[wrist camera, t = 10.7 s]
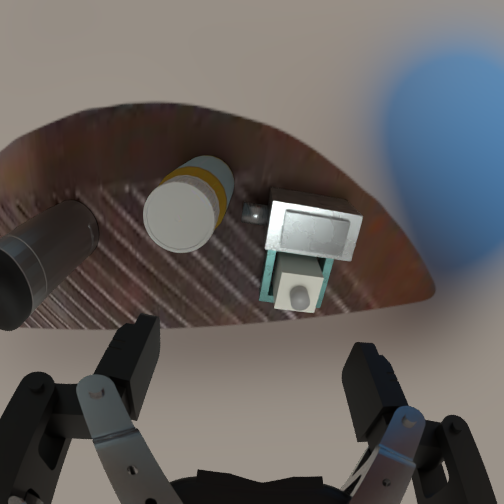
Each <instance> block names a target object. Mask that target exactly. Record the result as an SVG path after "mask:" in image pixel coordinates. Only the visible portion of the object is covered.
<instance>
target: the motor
mask: <svg viewBox="0 0 504 504" xmlns="http://www.w3.org/2000/svg"><path fill="white" fill-rule="evenodd" d="M362 218H363V216H362V215H361V214H360V213H359V212H358V211H357V210H356V209H355V208H354V207H353V206H352V205H351V204H350V203H349V202H348V201H347V200H345V199H340V198H334V197H329V196H323V195H318V194H312V193H306V192H300V191H294V190H288V189H282V188H276V187H271V189H270V195H269V201H268V205H262V204H255V203H248V202H244V206H243V212H242V220H241V222H243V223H250V224H257V225H264V237H265V249H266V254H265V259H264V265H263V271H262V276H261V282H260V287H259V301H266V302H274V297H273V285H270V281H271V276H272V271H273V265H274V260H275V255H276V251H279V252H286V253H294V254H301V255H308V256H315V257H320V260H319V266H320V269H321V271H322V274H323V277H324V279H323V283H322V286H321V290H320V294H319V297H318V300H317V304H316V307H317V308H320V306H321V303H322V299H323V296H324V292H325V289H326V286H327V282H328V279H329V275H330V271H331V268H332V264H333V260H334V259H338V260H345V261H351V258H352V255H353V251H354V248H355V244H356V241H357V237H358V233H359V229H360V226H361V222H362Z"/></svg>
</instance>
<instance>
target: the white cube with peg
mask: <svg viewBox="0 0 504 504" xmlns="http://www.w3.org/2000/svg"><path fill="white" fill-rule="evenodd" d="M323 279H324V277H323V274H322V271H321V269H320V266H319V263H318V261H317V258H316V257H315V256H308V255H301V254H294V253H286V252H279V251H278V254H277V259H276V264H275V269H274V274H273V280H272V283H273V297H274V308H276V309H284V310H293V311H301V312H311V313H314V311H315V307H316V304H317V300H318V297H319V294H320V290H321V286H322V283H323Z"/></svg>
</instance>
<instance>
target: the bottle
mask: <svg viewBox="0 0 504 504" xmlns="http://www.w3.org/2000/svg"><path fill="white" fill-rule="evenodd" d="M233 190H234V177H233V173H232V171H231V169H230V168H229V166H228V165H227V164H226V163H225V162H224V161H222V160H221V159H219V158H217V157H214V156H207V155H203V156H199V157H195V158H193V159H191V160H190V161H188V162H187V163H185V164H183V165H182V166H180V167H179V168H177V169H175V170H174V171H172V172H171V173H169V174H168V175H167V176H166V177H165V178H164V179H163V180H162V182H161V183H160V184H159V186H158V187H157V188H156V189H155V190H153V191H152V193H151V194H150V196H149V197H148V199H147V200H146V203H145V206H144V212H143V219H144V224H145V227H146V230H147V232H148V234H149V235H150V237H151V238H152V239H153V241H154V242H156V243H157V244H158V245H159V246H161V247H162V248H164V249H166V250H169V251H172V252H177V253H186V252H191V251H194V250H196V249H198V248H200V247H201V246H202V245H204V244H205V243H206V242H207V241H208V239H210V236H211V235H212V233H213V231H214V230H215V229H216V228H217V226H218V225H219V224H220V223H221V221H222V220H223V217H224V215H225V213H226V210H227V207H228V205H229V202H230V199H231V196H232V193H233Z"/></svg>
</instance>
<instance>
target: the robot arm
mask: <svg viewBox="0 0 504 504" xmlns="http://www.w3.org/2000/svg"><path fill="white" fill-rule="evenodd" d="M98 240H99V230H98V225H97V222H96V220H95V218H94V216H93V214H92V213H91V211H90V210H89V209H88V208H87V207H86V206H85V205H83V204H81V203H80V202H77V201H74V200H67V201H63V202H61V203H59V204H58V205H56V206H54V207H52V208H49V209H47V210H45V211H43V212H42V213H40V214H38V215H36V216H35V217H33V218H31V219H29V220H28V221H26V222H24V223H23V224H21V225H19V226H18V227H16V228H15V229H14V230H12V231H11V232H9V233H8V234H6V235H5V236H3V237H2V238H0V329H1V330H5V331H12V330H15V329H17V328H18V327H19V326H21V325H22V324H23V322H24V321H25V320H26V319H27V318H28V317H29V316H30V315H31V314H32V312H33V311H34V310H35V309H36V308H37V307H38V306H39V305H40V304H41V303H42V302H43V301H44V299H45V298H46V297H47V296H48V295H49V294H50V293H51V292H52V291H53V290H54V289H55V288H56V287H57V286H58V285H59V284H60V283H61V282H62V281H63V280H64V279H65V278H66V277H67V276H68V275H69V274H70V273H71V272H72V271H73V270H74V269H75V268H76V267H77V266H79V265H80V264H81V263H82V262H83V261H84V260H85V259H86V258H87V257H88V256H89V255H90V254H91V253H92V252H93V251H94V250H95V248H96V246H97V244H98ZM159 352H160V319H159V317H158V316H153V315H148V314H143V313H141V314H140V315H139V317H138V319H137V321H136V323H135V324H129V323H126V324H125V325H123V326H122V327H121V328H119V329H118V330H117V332H116V333H115V335H114V337H113V340H112V341H111V342H110V344H109V347H108V348H107V350H106V351H105V353H104V355H103V357H102V359H101V361H100V362H99V364H98V366H97V368H96V370H95V372H94V374H93V375H89V376H86V377H84V378H83V379H81V380H80V381H79V383H78V384H56V383H54V380H53V379H52V377H51V376H50V375H48V374H46V373H44V372H32V373H30V374H28V375H26V376H25V377H24V378H23V379H22V381H21V382H20V384H19V386H18V387H17V389H16V391H15V393H14V394H13V396H12V398H11V400H10V402H9V403H8V405H7V407H6V409H5V411H4V413H3V415H2V416H1V418H0V504H51V502H52V499H53V495H54V492H55V488H56V485H57V482H58V479H59V475H60V472H61V469H62V466H63V463H64V460H65V457H66V454H67V451H68V448H69V445H70V442H71V439H72V438H77V439H93V443H94V446H95V448H96V451H97V453H98V456H99V458H100V460H101V463H102V465H103V467H104V470H105V472H106V474H107V476H108V478H109V480H110V482H111V485H112V487H113V489H114V491H115V493H116V494H117V497H118V499H119V500H120V502H121V504H400V503H401V500H402V498H403V496H404V494H405V492H406V489H407V487H408V485H409V482H410V480H411V478H412V480H413V485H414V489H415V494H416V498H417V503H418V504H497V501H496V498H495V495H494V492H493V489H492V486H491V483H490V480H489V478H488V475H487V472H486V469H485V466H484V464H483V461H482V458H481V456H480V453H479V451H478V448H477V446H476V444H475V441H474V439H473V436H472V434H471V431H470V429H469V427H468V425H467V423H466V422H465V421H464V420H463V419H462V418H461V417H459V416H456V415H449V416H446V417H445V418H444V419H443V421H442V422H441V423H440V422H434V421H429V420H425V418H424V416H423V414H422V413H421V412H420V411H419V410H417V409H416V408H414V407H411V406H409V405H408V403H407V400H406V398H405V396H404V394H403V391H402V389H401V386H400V384H399V382H398V381H397V377H396V375H395V374H394V371H393V368H392V366H391V364H390V363H389V362H388V361H387V359H386V358H385V357H384V356H383V355H379V354H378V352H377V349H376V347H375V345H374V344H373V343H362V342H356V343H355V344H354V346H353V348H352V350H351V352H350V355H349V357H348V359H347V361H346V363H345V366H344V368H343V371H342V383H343V387H344V391H345V394H346V398H347V402H348V406H349V409H350V413H351V418H352V422H353V426H354V429H355V434H356V438H357V442H367V441H368V445H369V446H368V447H367V449H366V450H365V452H364V453H363V455H362V457H361V459H360V460H359V462H358V464H357V465H356V467H355V469H354V470H353V472H352V473H351V475H350V477H349V478H348V480H347V481H346V483H345V484H344V485H343V486H342V487H341V489H337V488H335V487H332V486H329V485H326V484H323V479H322V476H320V477H290V478H286V479H281V480H276V481H270V482H264V483H261V482H256V481H252V480H249V479H246V478H242V477H239V476H236V475H232V474H229V473H220V472H213V471H205V470H199V469H198V471H197V476H196V477H187V478H181V479H178V480H175V481H172V482H169V481H168V480H167V478H166V476H165V475H164V473H163V472H162V470H161V468H160V467H159V465H158V463H157V462H156V460H155V458H154V456H153V455H152V453H151V451H150V449H149V448H148V446H147V444H146V442H145V440H144V438H143V437H142V435H141V433H140V432H139V430H138V429H137V428H135V427H134V425H133V423H132V421H131V420H135V421H137V419H138V417H139V413H140V410H141V407H142V405H143V401H144V399H145V395H146V392H147V390H148V387H149V384H150V381H151V378H152V375H153V372H154V369H155V366H156V364H157V361H158V358H159ZM443 461H445V464H446V467H447V470H448V474H449V481H448V483H447V480H446V476H445V473H444V470H443V466H442V462H443Z"/></svg>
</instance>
